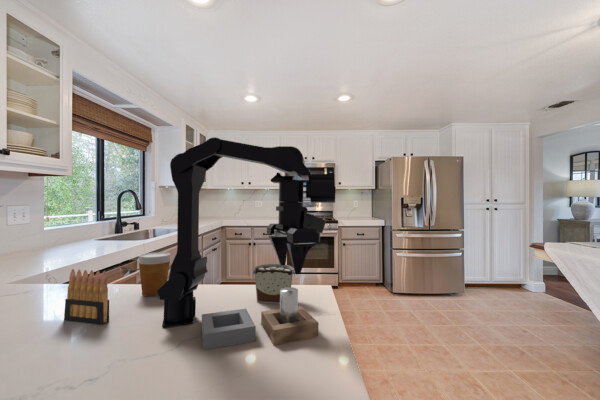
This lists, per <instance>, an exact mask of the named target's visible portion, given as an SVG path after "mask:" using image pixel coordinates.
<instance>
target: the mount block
mask: <svg viewBox="0 0 600 400" xmlns="http://www.w3.org/2000/svg"><path fill="white" fill-rule="evenodd" d="M260 313H261V314H260V315H261V316H260V325H261V327H262V329H263V330H264V331H265V333H266V335H267V337H268V338H269V340H270V343H271V345H273V346H276V345H282V344H287V343H292V342H293V343H294V342H297V341H302V340H308V339H313V338H317V337H319V324H320V323H319V322H318V320H317V319H315V318H314V317H313V316H312V315H311V314H310V313H309V312H308V311H306V310H305V308H303V307H302V305H299V306H298V318H297V322H292V323H286V324H280V308H277V309H270V310H262V311H261V312H260Z"/></svg>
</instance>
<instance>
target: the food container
mask: <svg viewBox="0 0 600 400" xmlns="http://www.w3.org/2000/svg"><path fill="white" fill-rule="evenodd" d="M252 275H254V281H255V293H256V303H265V304H266V303H267V304H280V289H282V288H285V287H292V281H293V275H294V277H295V276H296V274H295V271H294V268H293V266H291V265H289V264H285V265H281V264H280V263H265V264H260V265H257V266H254V269H252Z"/></svg>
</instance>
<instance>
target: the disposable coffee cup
mask: <svg viewBox="0 0 600 400" xmlns="http://www.w3.org/2000/svg"><path fill="white" fill-rule="evenodd" d="M171 261H172V255H171V252H163V251H161V252H159V251H158V252H156V251H155V252H147V253H142V254H139V255H138V258H137V263H138V267H139V277H140V278H139V279H140V284H141V285H140V286H141V295H142V296H143V297H156V295H157V296H158V292H157V291H158V290H159V289H160V288H161V287H162V286H163V285H164V284H165V283H166V282H167V281H168V278H169V272H170V266H171V265H170V264H171Z"/></svg>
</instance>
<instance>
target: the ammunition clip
mask: <svg viewBox="0 0 600 400" xmlns="http://www.w3.org/2000/svg"><path fill="white" fill-rule="evenodd" d="M69 274H70V275H69V277H68V278H69V280H68V286H67V297H66V298H65V301H64V303H65V304H64V316H63V321H64V322H72V323H81V324H90V325H98V326H99V325H100V326H101V325H105V324H107V323H108V322H110V299H109V287H108V276H107V273H106V271H105V270H104V271H103V272H102V274H101V273H100V271H99V270H97V271H96V273H94V270H93V269H92V270H90V271H89V273H88V271H87V269H85V270H84V271H83V273H82V271H81V269H80V268H79V269H78V270H77V271H75V269H74V268H73V269H71V271H70V273H69Z"/></svg>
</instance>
